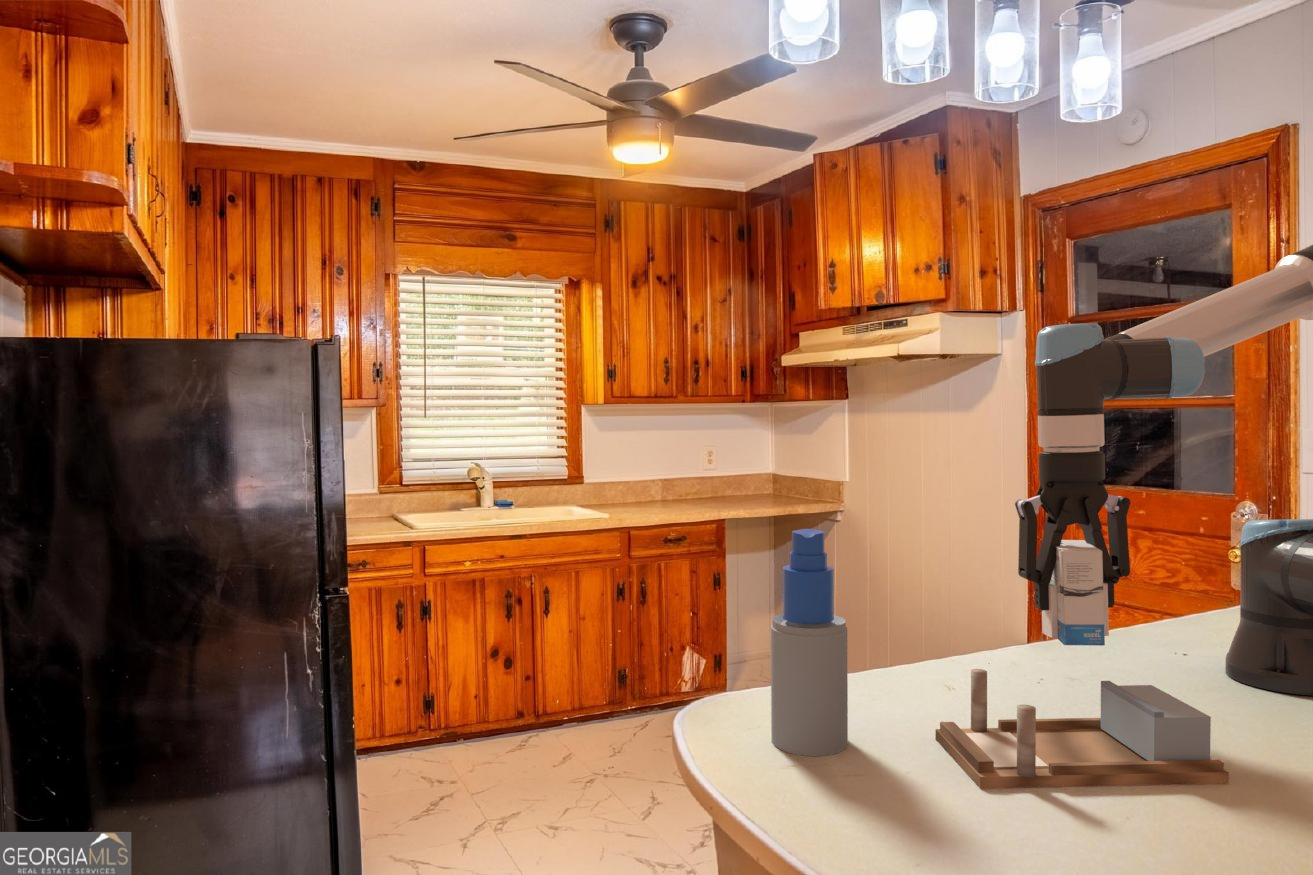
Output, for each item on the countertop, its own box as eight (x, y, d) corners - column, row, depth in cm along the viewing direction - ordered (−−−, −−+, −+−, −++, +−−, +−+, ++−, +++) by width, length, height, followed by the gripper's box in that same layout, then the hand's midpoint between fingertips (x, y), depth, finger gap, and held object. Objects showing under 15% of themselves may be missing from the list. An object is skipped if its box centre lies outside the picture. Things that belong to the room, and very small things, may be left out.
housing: (1151, 727, 107) (1151, 679, 107) (1210, 763, 96) (1210, 711, 96) (1100, 728, 107) (1100, 680, 107) (1153, 764, 96) (1154, 712, 96)
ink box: (1106, 646, 109) (1104, 549, 109) (1062, 646, 110) (1060, 549, 110) (1087, 629, 118) (1085, 538, 117) (1046, 628, 119) (1044, 539, 118)
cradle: (1150, 733, 109) (1150, 665, 109) (1231, 785, 94) (1231, 706, 94) (934, 737, 108) (934, 669, 108) (981, 790, 94) (981, 711, 93)
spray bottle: (779, 725, 113) (778, 524, 112) (852, 732, 110) (851, 527, 110) (764, 750, 105) (762, 534, 104) (842, 760, 102) (841, 537, 101)
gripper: (1128, 445, 117) (1132, 624, 118) (985, 450, 117) (989, 630, 118) (1162, 447, 110) (1166, 638, 111) (1009, 453, 109) (1013, 645, 110)
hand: (1075, 634), depth 114 cm, fingers closed on ink box, 6 cm apart
